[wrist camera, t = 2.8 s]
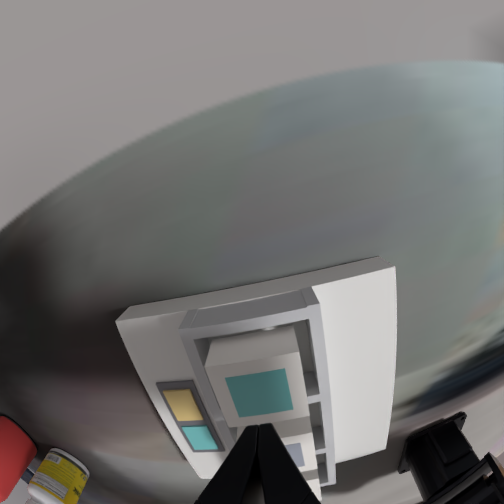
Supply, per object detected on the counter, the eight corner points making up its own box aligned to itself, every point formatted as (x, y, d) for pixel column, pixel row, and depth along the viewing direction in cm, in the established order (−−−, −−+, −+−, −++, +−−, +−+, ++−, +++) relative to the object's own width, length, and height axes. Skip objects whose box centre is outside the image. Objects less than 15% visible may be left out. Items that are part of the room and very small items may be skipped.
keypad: (378, 431, 17) (393, 466, 13) (204, 460, 18) (197, 497, 14) (379, 255, 14) (413, 278, 10) (129, 306, 15) (98, 338, 11)
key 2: (317, 477, 14) (321, 500, 12) (267, 485, 14) (267, 508, 12) (314, 453, 13) (319, 478, 11) (257, 461, 14) (257, 487, 12)
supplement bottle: (86, 479, 21) (60, 533, 12) (49, 454, 20) (17, 505, 11) (95, 468, 20) (65, 531, 11) (53, 440, 19) (16, 498, 10)
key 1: (303, 386, 12) (309, 416, 10) (232, 398, 12) (228, 427, 10) (293, 325, 11) (299, 351, 9) (212, 339, 12) (204, 367, 10)
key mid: (312, 442, 13) (317, 468, 11) (253, 451, 13) (252, 478, 11) (306, 403, 12) (312, 432, 10) (238, 414, 13) (235, 443, 11)
